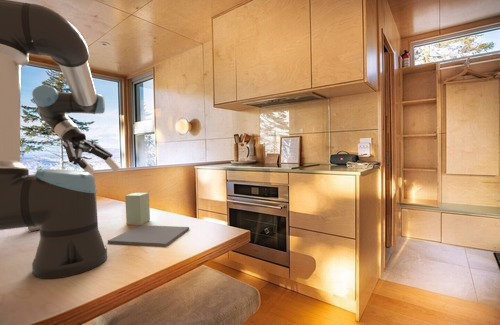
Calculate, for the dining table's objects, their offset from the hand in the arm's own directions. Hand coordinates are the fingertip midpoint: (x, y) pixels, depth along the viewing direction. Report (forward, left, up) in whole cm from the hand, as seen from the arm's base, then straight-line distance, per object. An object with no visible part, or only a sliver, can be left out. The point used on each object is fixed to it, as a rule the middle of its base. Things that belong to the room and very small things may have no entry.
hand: (106, 171), depth 103 cm
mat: (-15, -28, -20) cm, 37 cm away
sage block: (-1, -14, -20) cm, 24 cm away
